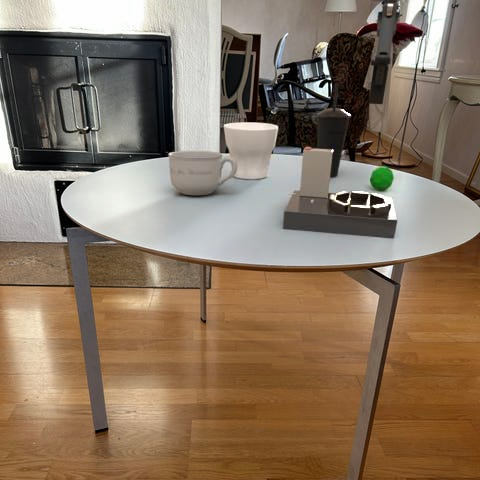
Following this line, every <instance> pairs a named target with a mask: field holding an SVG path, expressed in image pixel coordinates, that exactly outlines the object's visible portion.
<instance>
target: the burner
mask: <svg viewBox="0 0 480 480" xmlns="http://www.w3.org/2000/svg"><path fill="white" fill-rule="evenodd" d="M332 193H333V195H330V199H329V208H330V209H331V210H332V211H334V212H337V213H340V214H343V215H348V216H354V217H379V216H383V215H386V214H388V213H389V211H390V209H391V200H390V199H387V197H388V196H384V195H382V194H378V193H369V192H367V191H357V190H356V191H355V190H351V191H350V192H349V191H345V190H344V191H340V192H339V191H338V192H332ZM349 194H350V195H351V197H350V198H349ZM369 194H370V195H369ZM368 196H370V200H368Z"/></svg>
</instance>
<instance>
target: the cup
mask: <svg viewBox="0 0 480 480" xmlns="http://www.w3.org/2000/svg"><path fill="white" fill-rule="evenodd" d="M223 131H224V138H225V139H224V140H225V145H226V147H227V150H228V153H229V156H230V157H232V158H234V159H235V160H236V162H237V171H236V173H235V175H234V176H233V177H232V178H236V179H240V180H262V179H265V178H267V177H268V172H269V166H270V161H271V157H272V153H273V151H274V149H275V147H276V141H277V137H278V132H279V126H278V125H276V124H273V123H266V122H247V121H244V122H242V121H241V122H229V123H226V124H224V125H223ZM230 165H231V167H232V164H231V163H230Z"/></svg>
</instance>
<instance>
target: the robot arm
mask: <svg viewBox="0 0 480 480" xmlns="http://www.w3.org/2000/svg"><path fill="white" fill-rule="evenodd" d="M373 1H374V2H383V4H382V8H381V9H382V10H381V11H377V18H376V25H377V27H376V36H377V37H378V40H377V46H376V53H375V56H374V58H373V59H372V58H371V59H370V66H373V68H372V74H371V82H370V89H369V97H368V103H367V104H370V105H384V97H385V91H386V85H387V79H388V73H389V65H391V60H392V59H391V52H392V44H393V37H394V36H395V34H396V31H397V27H398V25H397V24H398V23H399V20H400V13H401V12H400V11H397V10H398V9H399V5H398V4H399V3H398V2H400V3H401V2H409V1H410V0H373Z"/></svg>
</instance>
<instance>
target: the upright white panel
mask: <svg viewBox="0 0 480 480" xmlns="http://www.w3.org/2000/svg"><path fill="white" fill-rule="evenodd" d="M332 154H333V150H330V149H317V148H312V146H305V147H304V148H303V151H302V160H301V161H302V163H301V173H300V174H301V176H300V186H299V187H300V188H299V191H300V196H308V197H321V198H328V193H329V190H330V181H331V177H330V173H331V164H332Z"/></svg>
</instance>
